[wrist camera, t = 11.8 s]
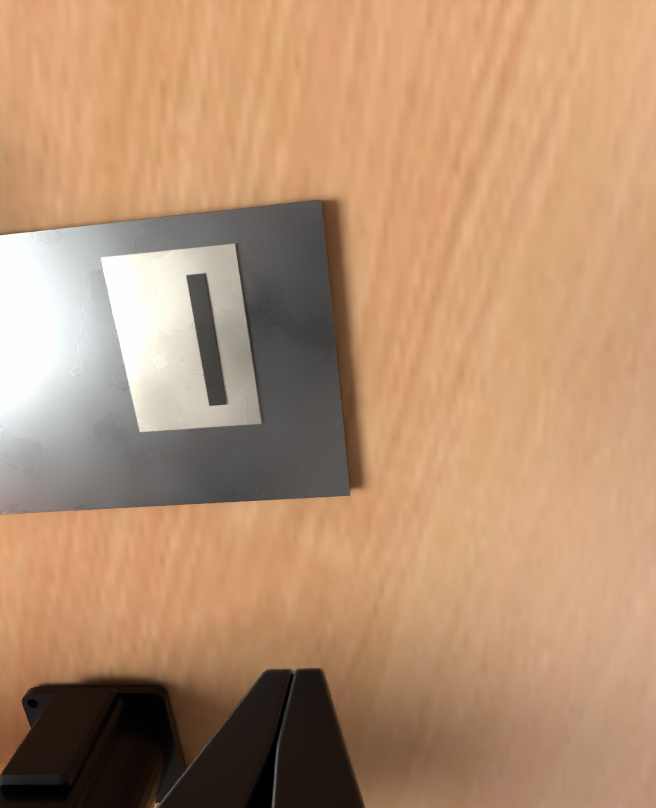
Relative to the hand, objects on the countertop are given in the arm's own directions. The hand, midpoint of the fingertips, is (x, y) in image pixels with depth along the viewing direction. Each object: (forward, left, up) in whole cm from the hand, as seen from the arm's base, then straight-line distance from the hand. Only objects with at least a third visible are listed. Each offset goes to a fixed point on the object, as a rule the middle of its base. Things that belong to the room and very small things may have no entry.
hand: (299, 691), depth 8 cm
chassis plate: (+2, +11, -12) cm, 16 cm away
